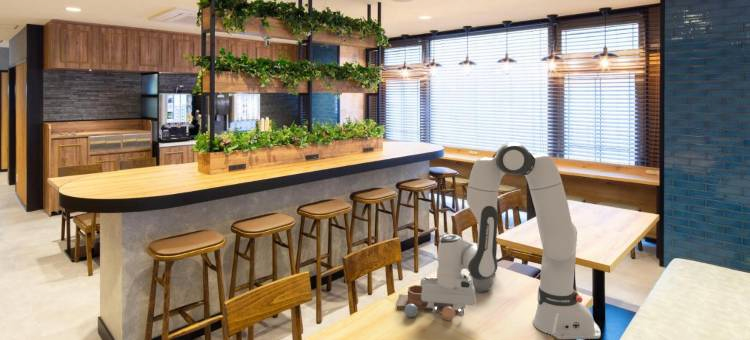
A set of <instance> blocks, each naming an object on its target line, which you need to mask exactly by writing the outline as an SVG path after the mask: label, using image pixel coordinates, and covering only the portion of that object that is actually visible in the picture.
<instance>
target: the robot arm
mask: <svg viewBox="0 0 750 340" xmlns="http://www.w3.org/2000/svg"><path fill="white" fill-rule="evenodd" d="M471 168H472V169H471V171H470V175H469V179H468V182H467V183H468V184H467V190H466V202H467V205H468V208H469V209H470V211H471V212H472V214H473V215H474V217H475V219H476V222H477V226H478V231H477V232H478V233H477V234H478V235H477V243H476V242H473V241H468V240H465V239H464V238H462V237H461V236H460V235H458V234H452V235H450V234H447V235H448V236H445V235H444V236H445V237H442V238H440V241H439V243H438V248H437V262H438V263H437V264H438V266H437V270H436V277H434V276H433V277H429V276H424V277H423V278H421V279H420V285H421V287H422V293H421V299H422V301H424V302H430V305H431V307H432V308H433V312H432V313H433V314H435V313H436V314H437V313H438V312H437V307H435V306H434V302H436V303H448V304H460V305H462V307H461V309H458V314H457V315H458V316H463V314H462V312H463V310H464V311H465V309H466V307H467V306H474V305H475V304H476V302H477V299H476V298H477V297H476V291H475V289H474V285H473V279H472V277H471V276H469V274H465V273H463V272H462V270H464V269H465V270H467V271H468V272H469V273H470V274H471V275H472V276H473V277H474V278H475V279H477V280H481V281H483V280H487V279H489V278H491V279H492V277H493V276H495V275H496V272H497V270H498V268H499V267H498V263H499V262H497V260H498V259H497V253H495V250H496V241H497V235H498V234H497V233H498V217H499V216H498V197H499V192H500V185H501V180H502V178H503V177H504V176H505V175H512V176H525V179H526V181H527V182H526V183H527V184H528V189H529V192H530V195H531V199H532V204H533V207H534V211H535V217H536V221H537V227H538V232H539V236H540V241H541V246H542V258H541V267H540V278H539V279H540V281H539V282H540V283H539V285H538V290H537V308H536V311H535V315H534V317H533V320H532V324H533V326H534V327H535V328H536V329H537V330H539V331H540V332H542V333H545V334H547V333H548V335H550V334H551V335H550V336H552V335H553V336H555V337H556V338H555V337H554V338H555V339H557V340H585V339H586V340H587V339H589V340H591V339H592V340H593V339H600V338H601V336H602V335H601V334H602V333H601V329H600V326H599V325H598V324H597V323H596V322H595V320H594V317H593V313H591V311H590V310H589V308H588V307H586V306H585V304H583V303H582V302H583V298H582V296H581V295H579V293H578V292H577V291H576V289H574V282H575V281H574V280H575V270H576V269H575V266H576V253H577V245H578V244H577V241H578V230H577V227H576V226H575V224H574V222H573V221H572V217H571V213H570V207H569V203H568V199H567V198H568V197H567V196H566V191H565V188H564V184H563V180H562V177H561V174H560V172H559V169H558V166H557V164H556V162H555V160H554V158H553V157H552V156H551V155H549V154H544V153H540V154H532V153H531V152H530V151H529V150H528V149H527V148H526V147H525V146H524V145H523V144H522V143H519V142H516V141H508V142H506V143H504V144H502V145H501V146H500V147H499V148H498V150H496V152H495V153H494V154H493V156H492V157H480V158H477V160H475V162H474V164H473V166H472V167H471ZM457 235H458V236H457ZM459 236H460V237H461V238H460V237H459ZM494 274H495V275H494ZM553 336H552V337H553Z"/></svg>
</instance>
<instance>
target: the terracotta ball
mask: <svg viewBox="0 0 750 340" xmlns="http://www.w3.org/2000/svg"><path fill="white" fill-rule="evenodd" d="M441 316H442V318H443V319H444V320H446V321H451V320H453V319H454V318H455V316H456V313H455V311H454V309H453V308H452V307H450V306H446V307H444V308H443V309H442V312H441Z"/></svg>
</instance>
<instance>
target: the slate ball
mask: <svg viewBox="0 0 750 340" xmlns="http://www.w3.org/2000/svg"><path fill="white" fill-rule="evenodd" d="M418 312H419V311H418V309H417V307H416V305H414V304H408V305H406V307H405V310H404V314H405V316H407V317H408V318H414V317H416V316H417V314H418Z"/></svg>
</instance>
